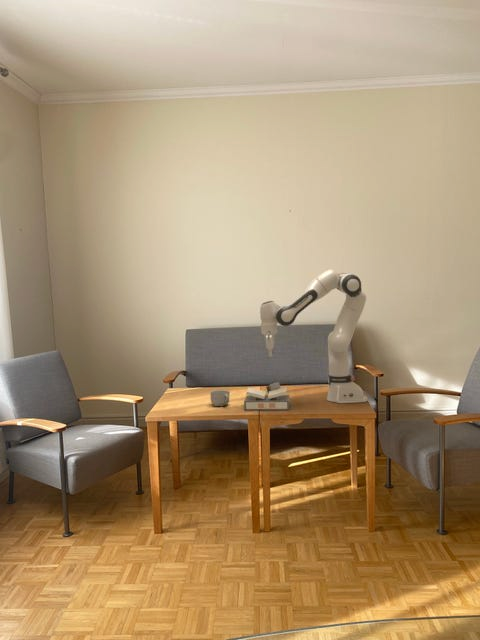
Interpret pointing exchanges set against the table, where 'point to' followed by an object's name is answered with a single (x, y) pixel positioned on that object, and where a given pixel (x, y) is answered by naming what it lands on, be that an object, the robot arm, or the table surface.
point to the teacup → (219, 397)
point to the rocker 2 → (277, 392)
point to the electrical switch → (273, 387)
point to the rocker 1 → (256, 393)
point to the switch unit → (267, 403)
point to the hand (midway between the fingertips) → (270, 355)
